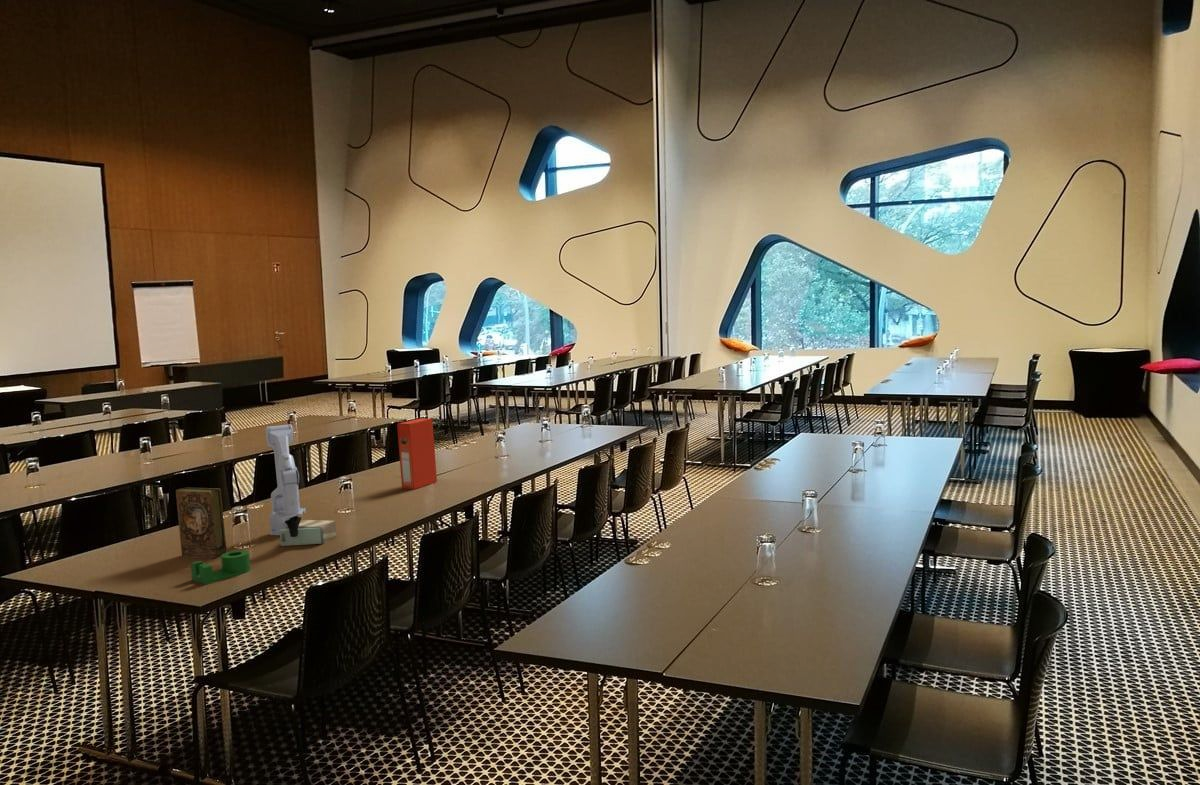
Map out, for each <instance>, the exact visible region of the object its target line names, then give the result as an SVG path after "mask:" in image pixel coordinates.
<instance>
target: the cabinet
mask: <svg viewBox="0 0 1200 785" xmlns="http://www.w3.org/2000/svg"><path fill="white" fill-rule="evenodd" d="M336 526H337V525H336V520H325V519H324V520H323V519H322V520H320V519H319V520H318V519H317V520H316V519H315V520H314V519H301V521H300V523H299V526H298V529H305V528H320V527H322V536H323V543H321V544H323V545H324V544H326V543H328V542H330V541H332V540H334V539H336V538H337V527H336ZM287 529H289V528H288V526H286V530H287Z"/></svg>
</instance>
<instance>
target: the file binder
mask: <svg viewBox="0 0 1200 785" xmlns="http://www.w3.org/2000/svg"><path fill="white" fill-rule="evenodd" d="M396 426H397V427H396V428H397V439H398V450H399V453H398V454H399V464H400V465H399V466H400V479H401V480H400V481H401V488H402V489H403V490H404V489H405V490H416V489H420V488H423V487H425V486H427V485H430V484H431V485H432V484H434V483H437V482H438V479H437V477H438V476H437V465H436V464H437V463H436V452H435V451H436V450H435V448H436V447H435V436H434V423H433V418H417V419H412V420H408V421H405V422H400V423H399V422H398V423H396Z"/></svg>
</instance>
